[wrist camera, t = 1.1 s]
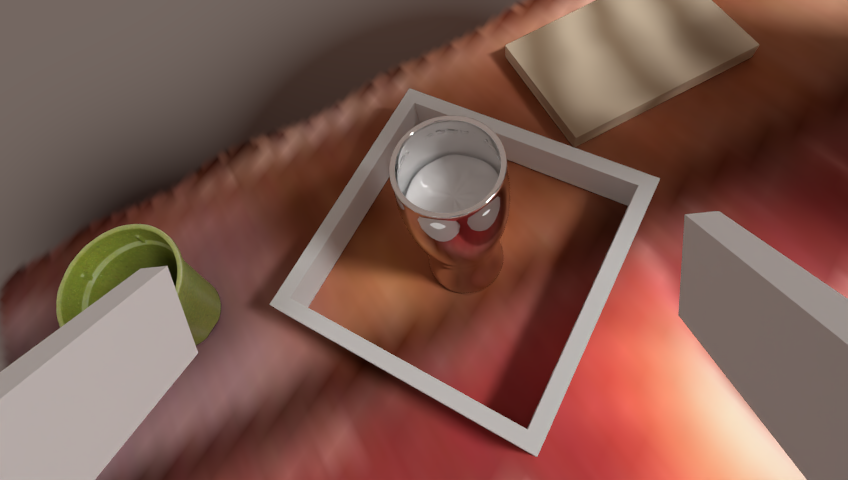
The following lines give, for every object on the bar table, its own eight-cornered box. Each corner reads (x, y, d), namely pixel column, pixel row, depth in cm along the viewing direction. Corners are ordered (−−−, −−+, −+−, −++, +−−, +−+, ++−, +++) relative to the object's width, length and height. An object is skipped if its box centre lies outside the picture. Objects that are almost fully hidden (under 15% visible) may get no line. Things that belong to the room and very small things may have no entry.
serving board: (666, -24, 50) (671, -37, 48) (751, 57, 45) (759, 44, 43) (505, 56, 49) (505, 45, 47) (573, 147, 44) (576, 138, 42)
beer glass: (523, 241, 41) (533, 138, 28) (483, 314, 39) (472, 243, 26) (450, 207, 43) (425, 95, 30) (408, 274, 42) (361, 189, 28)
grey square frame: (648, 199, 41) (660, 178, 38) (534, 456, 35) (537, 456, 32) (415, 112, 48) (409, 88, 45) (287, 315, 42) (269, 304, 39)
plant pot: (250, 346, 41) (189, 322, 33) (142, 387, 41) (57, 373, 33) (230, 248, 45) (172, 205, 37) (132, 286, 45) (53, 251, 37)
